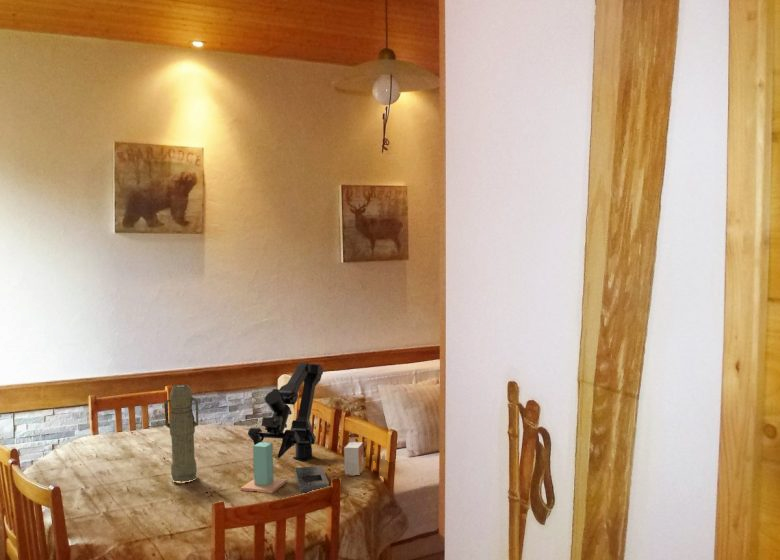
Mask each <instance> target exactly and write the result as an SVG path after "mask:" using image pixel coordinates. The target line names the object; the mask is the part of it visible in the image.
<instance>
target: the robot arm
mask: <svg viewBox="0 0 780 560" xmlns="http://www.w3.org/2000/svg"><path fill="white" fill-rule="evenodd" d="M322 375H324V368H323V366H322V365H321V364H320V363H309V362H298V363H297V364H296V368H295V369H294V372H293V373H292V375H291V377H290V378H289V380H288V382H286V384H284V385H282V386H281V387H280V388H273V389H272V391H270V392H269V393H267V394H266V396H264V401H265V403H266V405H267V406H268V408H269V409H270V411H271V412H273V413H272V415H271V416H269V417H268V416H262V421H261V427H264V430H265V431H262V429H261V428H259V427H250V428H249V429H248V432H247V435H248V436H249V438H250V439H251V440H252V442H253V446H254V445H256V444H258V443H259V442H263V441H264V439H265V438H267V439H280V440H281V439H282V440H281V441H282V442H281V445H280V448H279V450H278V454H277V458H278V459H280V458H282V457H283V455H284V454H285V453H286V452H287V451H288V450H289V449H291V448H292V447H294V446H295V456H292V459H293V460H294V459H295V460H297V461H300V462H301V461H302V462H305V461H308V460H312V459H315V458H316V456H315V455H313V447H312V445H314V444H316V438H317V437H316V435H315V433H314V432H313V426H312V423H311V421H310V419H311V413H312V409H313V402H314V395H315V390H316V386H317V385H318V384H319V382H320V381H321V380H322ZM302 385H303V388H302V393H301V397H300V403H299V409H298V413H297V414H298V415H297V418H296V419H293V420H292V421H291V428H290V429H286V428H287V427H288V424H287V422H288V419H289V416H291V415H292V410H291V407H290V406H289V405H292V406H293V405H295V404H296V403H297V401H298V399H299V393H298V391H299V390H300V388H301V386H302ZM285 429H286V430H285Z"/></svg>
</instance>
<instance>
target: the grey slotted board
mask: <svg viewBox="0 0 780 560" xmlns="http://www.w3.org/2000/svg"><path fill="white" fill-rule="evenodd" d="M294 474H295V475H294V476H295V479H296V482H297V486H298V490H299V493H300V494H304V493H305V492H309V491H312V490H316V489H320V488H324V487H327V486H329V487H330V482H329V479H328V478H327V476H326V475H327V474H326V473H325V470H324V468H323V466H322V465H312V466H303V467H295V468H294ZM309 493H310V492H309ZM305 494H306V493H305Z"/></svg>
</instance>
